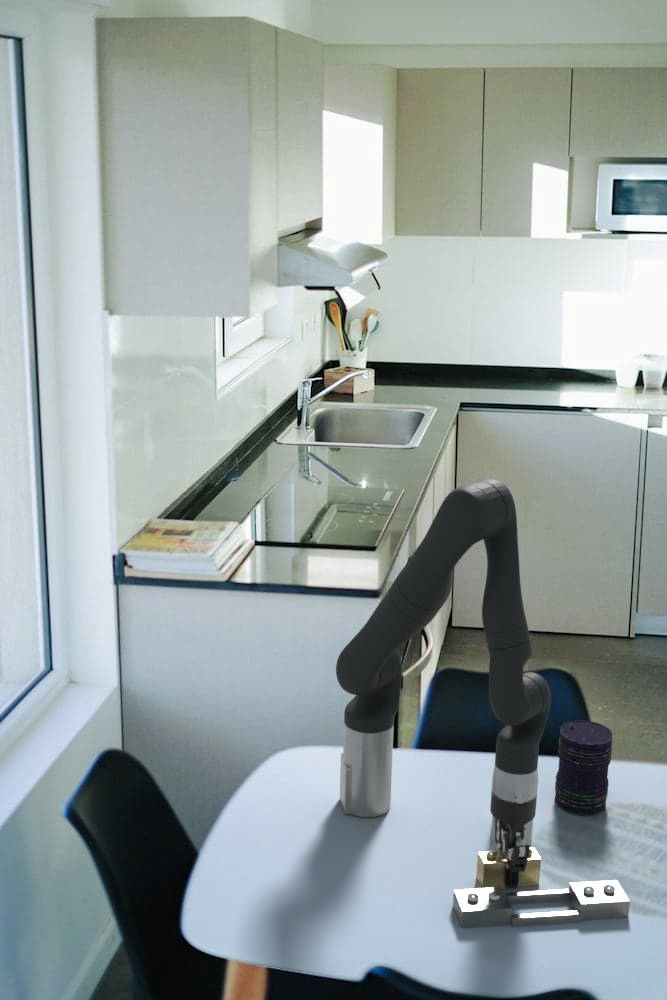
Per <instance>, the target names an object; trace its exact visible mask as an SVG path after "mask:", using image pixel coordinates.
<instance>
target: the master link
mask: <svg viewBox="0 0 667 1000" xmlns="http://www.w3.org/2000/svg"><path fill="white" fill-rule="evenodd" d="M529 848H530V853H529V856H528V860H527V864H526V868H525V871H519V881H518V886H517V887H516V888H518V887H528V886H538V885H540V876H541V866H542V865H541V863H542V858H541V856H540V855H539V853H538V851H537V850H536V848H535V847H529ZM510 859H511V857H510ZM505 864H506V856H505V854H504V853H503V850H489V851H478V852H477V862H476V875H475V876H476V880H477V882H478V884H479V885H481V886H480V888H481V887H482V888H492V887H503V889H505V888H507V887H506V886H505V870H506V866H505ZM507 889H508V888H507Z"/></svg>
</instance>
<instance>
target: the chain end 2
mask: <svg viewBox="0 0 667 1000" xmlns="http://www.w3.org/2000/svg"><path fill="white" fill-rule="evenodd" d="M534 891H535V893H536V902H535V903H545V902H547V903H548V902H550V903H551V902H562V901H563V902H565V901H569V903H570V904H571V906H572V908H573V910H563V911H549V912H545V913H546V915H547V924H546V925H554V924H556V925H558V924H572V923H582V921H586V920H588V921H589V920H604V919H619V918H620V919H621V918H629V915H630V904H631V900H630V898H629V897H628V896H627V894H626V892H625V891H624V888H622V886H621V884H620V882H619V880H617V879H612V880H611V879H610V880H595V881H581V882H580V881H578V882H577V881H575V882H569V887H568V888H564V889H563V888H562V889H561V888H560V889H547V890H546V889H545V890H534Z"/></svg>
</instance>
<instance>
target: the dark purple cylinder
mask: <svg viewBox="0 0 667 1000" xmlns="http://www.w3.org/2000/svg"><path fill="white" fill-rule="evenodd" d="M559 731H560V733H559V740H558V750H557V754H558V759H559V760H558V769H557V770H558V771H557V772H556V774H555V783H554V784H555V785H554V790H555V791H554V794H555V795H554V804H555V805H556V807H557V808H559V809H560V810H561V811H563V812H565V813H567V814H570V815H573V816H574V815H575V816H577V817H578V816H580V817H593V816H598V815H601V814H602V813H603V812H604V811H605V810H606V807H607V805H606V804H607V798H608V793H609V785H610V784H609V778H608V777H609V776H608V775H609V774H608V773H609V765H610V763H611V760H612V752H613V737H614V735H613V732H612V730H611V729H610V728H608V727H607V726H605V725H603V724H601V723H599V722H595V721H589V720H573V721H568V722H565V723H563V724H562V726H561V727H560V730H559Z"/></svg>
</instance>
